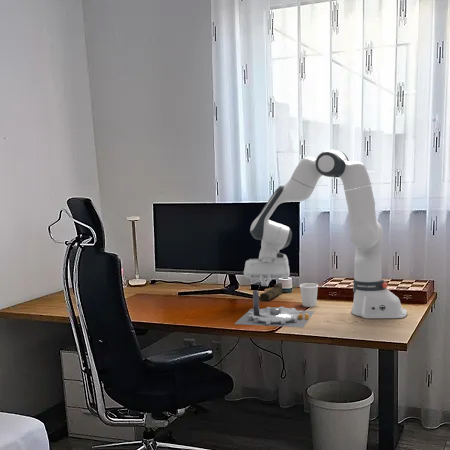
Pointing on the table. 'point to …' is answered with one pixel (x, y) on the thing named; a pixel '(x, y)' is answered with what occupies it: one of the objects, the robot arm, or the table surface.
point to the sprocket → (273, 313)
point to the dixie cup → (309, 294)
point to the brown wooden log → (271, 293)
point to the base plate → (299, 323)
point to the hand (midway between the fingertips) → (264, 285)
